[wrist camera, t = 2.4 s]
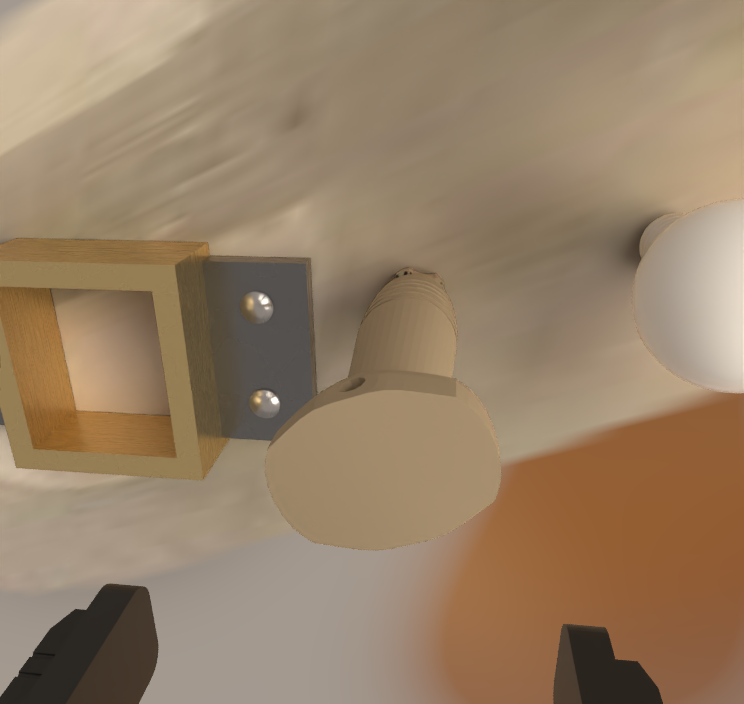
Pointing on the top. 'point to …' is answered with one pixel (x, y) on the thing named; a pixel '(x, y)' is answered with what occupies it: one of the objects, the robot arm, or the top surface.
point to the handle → (389, 433)
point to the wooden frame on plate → (178, 350)
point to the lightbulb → (694, 294)
